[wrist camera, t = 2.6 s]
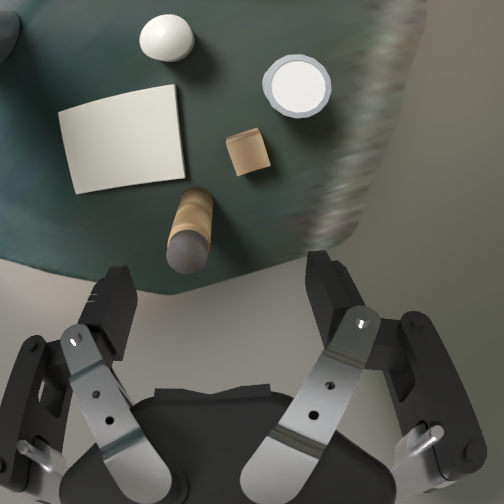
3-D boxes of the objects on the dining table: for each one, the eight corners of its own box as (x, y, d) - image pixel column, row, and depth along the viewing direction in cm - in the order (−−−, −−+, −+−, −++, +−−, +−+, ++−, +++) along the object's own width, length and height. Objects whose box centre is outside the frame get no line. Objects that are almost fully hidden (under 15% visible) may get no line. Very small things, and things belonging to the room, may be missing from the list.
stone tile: (79, 191, 36) (76, 194, 35) (62, 110, 29) (58, 112, 28) (185, 174, 36) (184, 178, 35) (175, 84, 30) (174, 84, 29)
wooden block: (236, 165, 36) (237, 176, 33) (226, 137, 34) (226, 144, 31) (266, 156, 36) (270, 165, 33) (257, 127, 34) (260, 133, 30)
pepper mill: (183, 217, 40) (169, 277, 29) (178, 188, 37) (160, 240, 27) (214, 215, 40) (211, 274, 29) (211, 185, 37) (206, 236, 27)
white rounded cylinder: (154, 66, 28) (142, 64, 23) (149, 28, 25) (137, 21, 20) (196, 57, 28) (192, 54, 24) (192, 19, 25) (187, 10, 21)
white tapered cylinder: (282, 121, 33) (294, 131, 28) (244, 81, 30) (249, 82, 24) (323, 89, 31) (344, 93, 25) (288, 47, 28) (302, 41, 22)
